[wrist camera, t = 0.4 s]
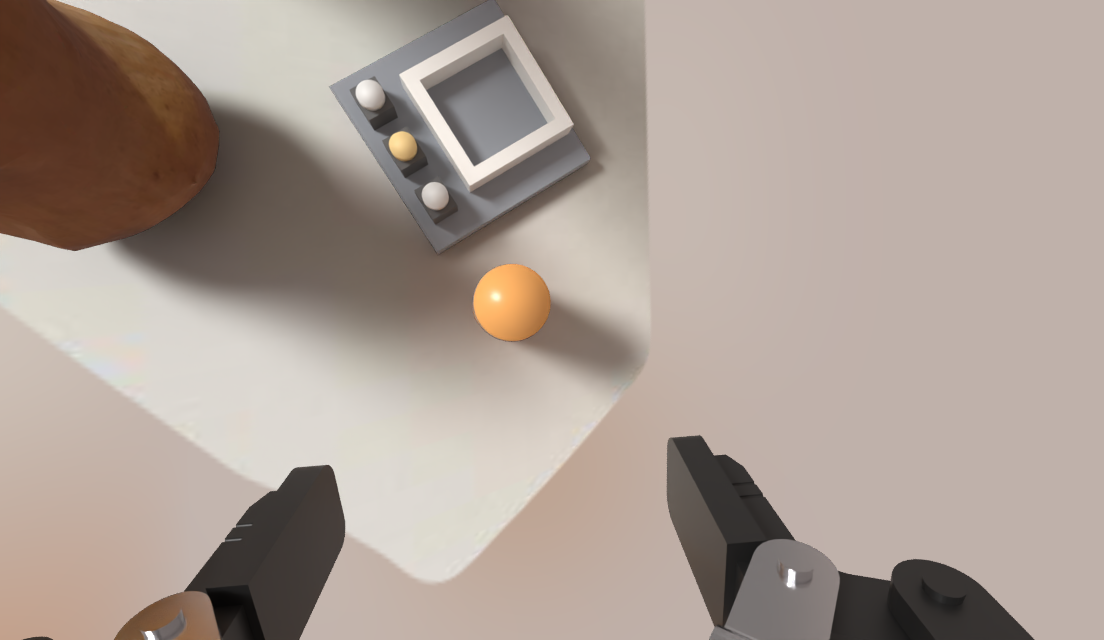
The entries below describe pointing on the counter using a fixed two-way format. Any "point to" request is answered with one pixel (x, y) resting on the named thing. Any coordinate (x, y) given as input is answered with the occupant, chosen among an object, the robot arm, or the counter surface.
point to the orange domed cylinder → (511, 302)
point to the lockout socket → (461, 58)
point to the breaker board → (454, 132)
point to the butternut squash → (93, 128)
